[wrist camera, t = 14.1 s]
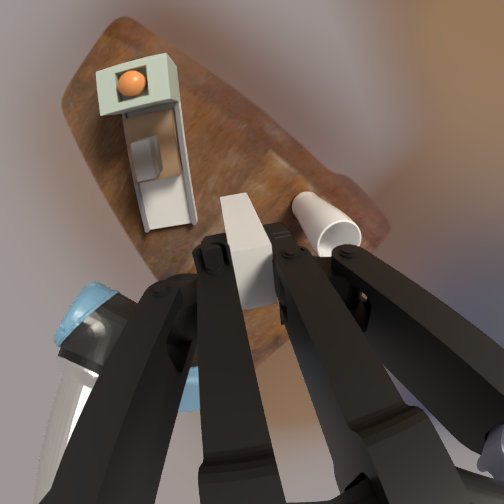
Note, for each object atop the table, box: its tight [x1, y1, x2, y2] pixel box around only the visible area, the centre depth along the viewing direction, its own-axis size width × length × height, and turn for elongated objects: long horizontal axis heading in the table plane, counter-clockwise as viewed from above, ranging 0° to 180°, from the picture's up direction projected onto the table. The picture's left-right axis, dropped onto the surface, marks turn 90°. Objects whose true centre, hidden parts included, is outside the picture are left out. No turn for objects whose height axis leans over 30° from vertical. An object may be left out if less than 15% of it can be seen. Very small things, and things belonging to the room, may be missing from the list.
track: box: [122, 101, 197, 233], centre depth 40 cm, size 20×9×2 cm, turn 5°
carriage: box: [124, 109, 182, 184], centre depth 34 cm, size 10×7×9 cm
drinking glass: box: [292, 192, 361, 257], centre depth 42 cm, size 7×7×15 cm
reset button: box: [118, 71, 148, 97], centre depth 26 cm, size 3×3×2 cm
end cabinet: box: [96, 53, 180, 116], centre depth 30 cm, size 6×9×11 cm, turn 95°
